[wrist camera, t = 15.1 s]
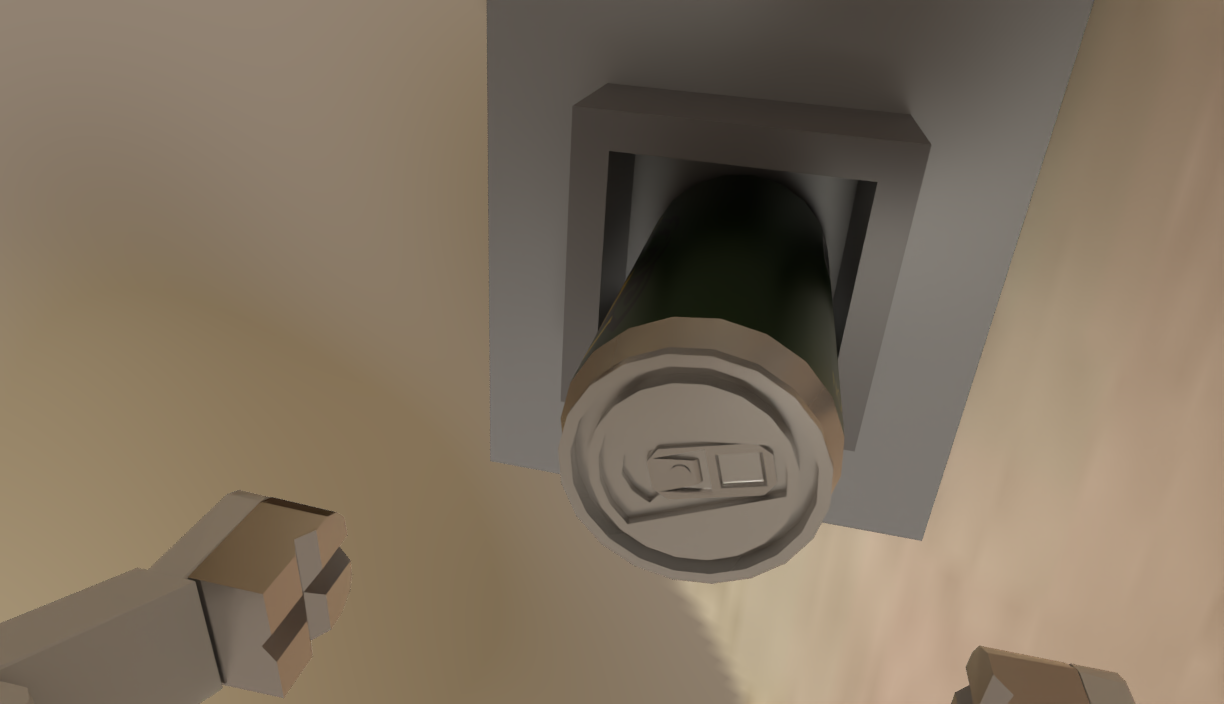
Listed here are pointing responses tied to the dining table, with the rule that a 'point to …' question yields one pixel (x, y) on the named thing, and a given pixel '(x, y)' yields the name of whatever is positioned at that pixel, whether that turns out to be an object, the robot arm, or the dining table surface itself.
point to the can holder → (786, 154)
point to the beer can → (712, 391)
